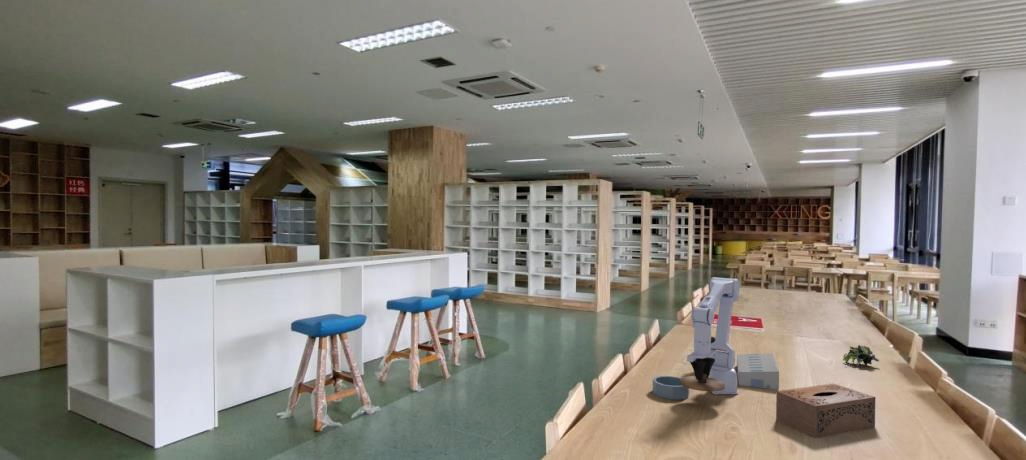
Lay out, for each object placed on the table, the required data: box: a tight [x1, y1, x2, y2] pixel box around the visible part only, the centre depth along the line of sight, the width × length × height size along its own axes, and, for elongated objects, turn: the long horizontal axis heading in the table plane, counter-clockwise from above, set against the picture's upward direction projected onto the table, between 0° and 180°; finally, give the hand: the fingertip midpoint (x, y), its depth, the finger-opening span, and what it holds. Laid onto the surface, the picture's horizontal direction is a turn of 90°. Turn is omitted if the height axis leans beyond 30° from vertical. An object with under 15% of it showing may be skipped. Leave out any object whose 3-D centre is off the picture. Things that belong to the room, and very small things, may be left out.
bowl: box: [652, 375, 690, 401], centre depth 191 cm, size 13×13×5 cm
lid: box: [680, 373, 725, 392], centre depth 179 cm, size 15×15×4 cm
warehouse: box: [736, 353, 780, 391], centre depth 213 cm, size 30×14×8 cm, turn 157°
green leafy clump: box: [842, 344, 880, 368], centre depth 231 cm, size 11×11×12 cm
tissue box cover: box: [775, 383, 876, 439], centre depth 163 cm, size 26×14×10 cm, turn 109°
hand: (701, 378), depth 179 cm, fingers closed on lid, 3 cm apart
